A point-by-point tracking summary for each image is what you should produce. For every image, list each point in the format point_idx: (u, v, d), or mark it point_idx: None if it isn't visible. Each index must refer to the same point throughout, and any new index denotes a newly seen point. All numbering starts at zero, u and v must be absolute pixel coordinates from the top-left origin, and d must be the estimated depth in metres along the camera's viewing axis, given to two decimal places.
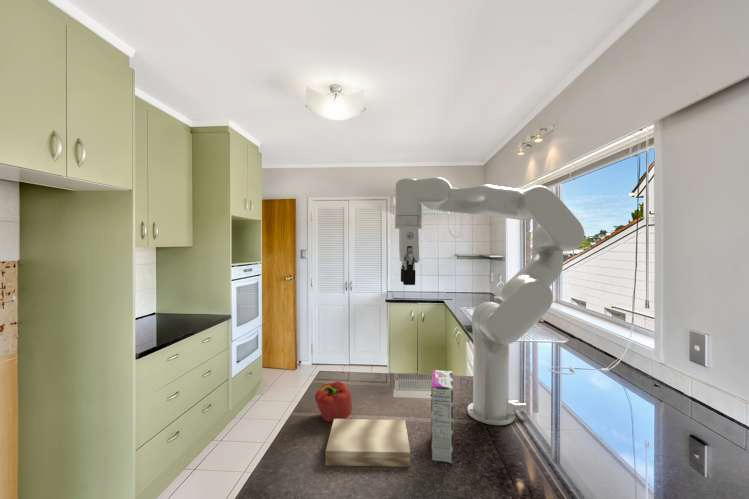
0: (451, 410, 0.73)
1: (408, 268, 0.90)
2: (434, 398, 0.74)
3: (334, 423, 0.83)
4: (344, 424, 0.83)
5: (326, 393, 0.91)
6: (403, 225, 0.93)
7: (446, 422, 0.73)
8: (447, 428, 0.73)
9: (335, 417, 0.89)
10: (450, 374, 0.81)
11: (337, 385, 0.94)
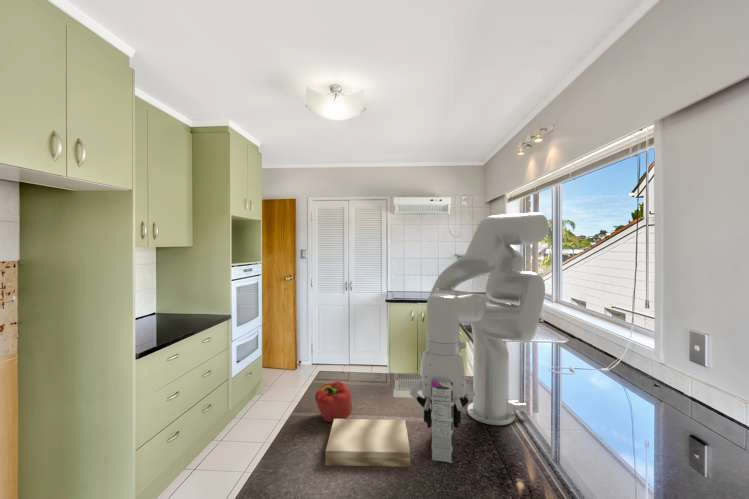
0: (451, 410, 0.73)
1: None
2: (434, 398, 0.74)
3: (334, 423, 0.83)
4: (344, 424, 0.83)
5: (326, 393, 0.91)
6: (458, 353, 0.77)
7: (446, 422, 0.73)
8: (447, 427, 0.73)
9: (335, 417, 0.89)
10: None
11: (337, 385, 0.94)
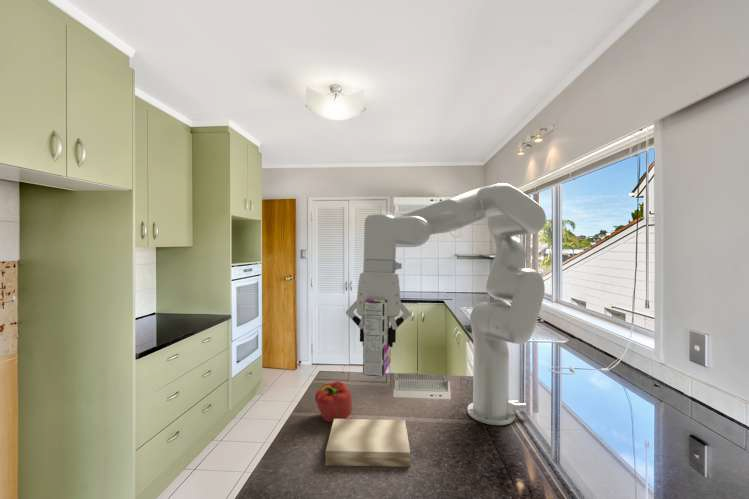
0: (382, 323, 0.73)
1: (397, 326, 0.79)
2: (366, 312, 0.74)
3: (334, 423, 0.83)
4: (344, 424, 0.83)
5: (326, 393, 0.91)
6: (394, 272, 0.78)
7: (377, 336, 0.73)
8: (378, 341, 0.73)
9: (335, 417, 0.89)
10: None
11: (337, 385, 0.94)
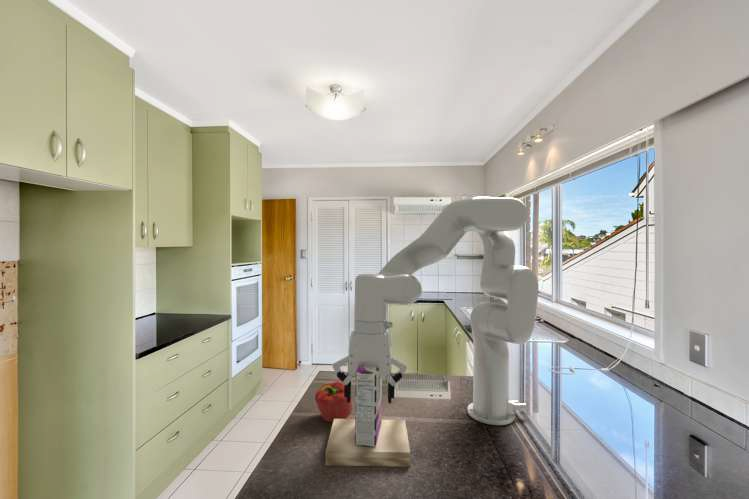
0: (374, 394, 0.73)
1: None
2: (358, 383, 0.74)
3: (334, 423, 0.83)
4: (344, 424, 0.83)
5: (326, 393, 0.91)
6: (384, 332, 0.77)
7: (369, 407, 0.73)
8: (371, 412, 0.73)
9: (335, 417, 0.89)
10: None
11: (337, 385, 0.94)
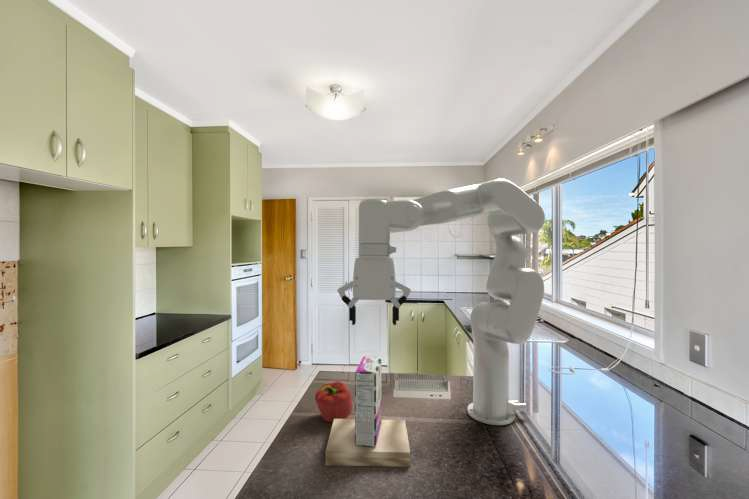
0: (374, 394, 0.73)
1: (400, 305, 0.80)
2: (358, 383, 0.74)
3: (334, 423, 0.83)
4: (344, 424, 0.83)
5: (326, 393, 0.91)
6: (388, 256, 0.79)
7: (369, 407, 0.73)
8: (370, 412, 0.73)
9: (335, 417, 0.89)
10: (378, 360, 0.81)
11: (337, 385, 0.94)
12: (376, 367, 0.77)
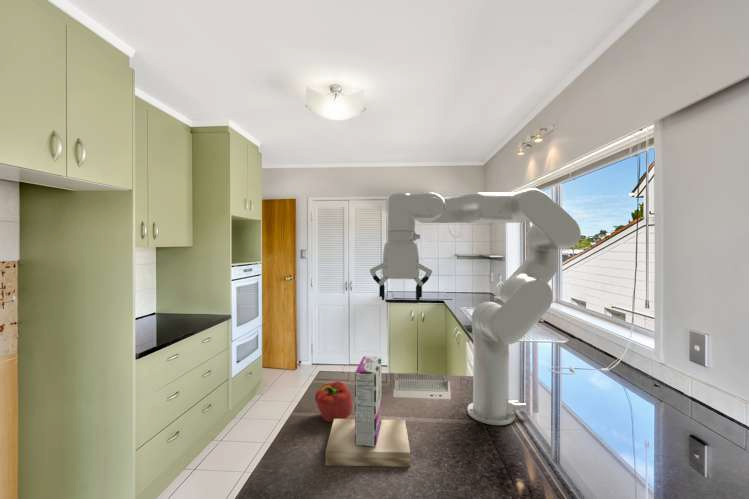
0: (374, 394, 0.73)
1: None
2: (358, 383, 0.74)
3: (334, 423, 0.83)
4: (344, 424, 0.83)
5: (326, 393, 0.91)
6: (413, 241, 0.93)
7: (369, 407, 0.73)
8: (370, 412, 0.73)
9: (335, 417, 0.89)
10: (378, 360, 0.81)
11: (337, 385, 0.94)
12: (376, 367, 0.77)
